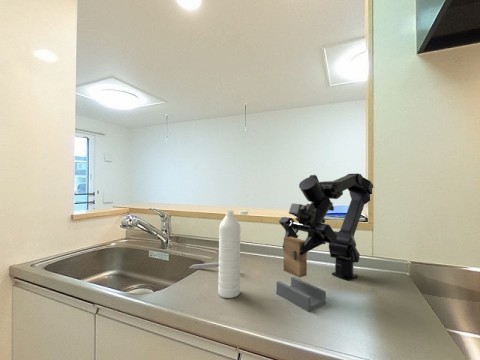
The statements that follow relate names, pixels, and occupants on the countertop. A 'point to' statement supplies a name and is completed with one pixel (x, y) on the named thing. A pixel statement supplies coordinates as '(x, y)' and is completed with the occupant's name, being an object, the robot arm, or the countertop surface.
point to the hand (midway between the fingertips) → (291, 251)
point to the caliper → (204, 265)
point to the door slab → (294, 257)
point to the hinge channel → (302, 294)
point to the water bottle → (229, 256)
